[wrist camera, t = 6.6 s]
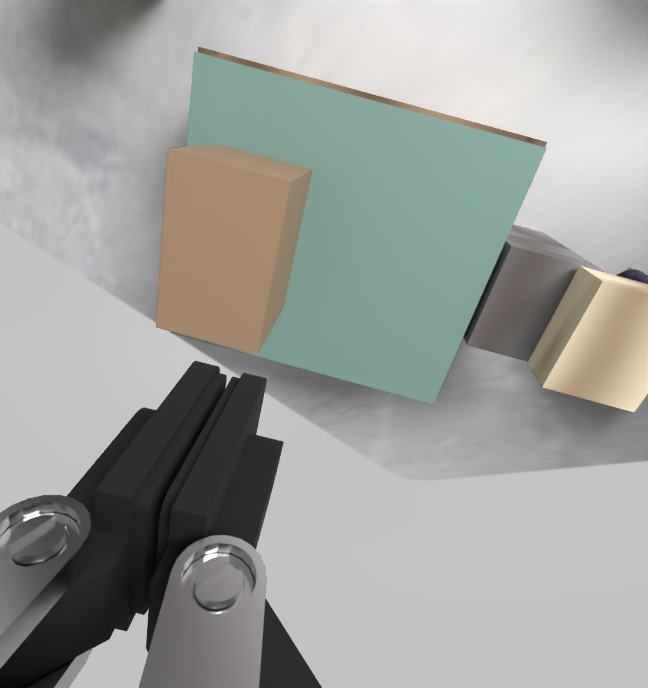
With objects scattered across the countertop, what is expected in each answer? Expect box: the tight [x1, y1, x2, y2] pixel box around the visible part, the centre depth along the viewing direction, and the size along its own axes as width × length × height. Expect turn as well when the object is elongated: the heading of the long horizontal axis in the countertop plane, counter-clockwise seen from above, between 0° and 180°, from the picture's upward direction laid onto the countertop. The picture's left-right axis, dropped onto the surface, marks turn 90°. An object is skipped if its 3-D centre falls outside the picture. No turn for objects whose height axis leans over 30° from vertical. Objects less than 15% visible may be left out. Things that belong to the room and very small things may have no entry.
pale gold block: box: [527, 266, 648, 412], centre depth 22 cm, size 5×6×3 cm
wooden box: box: [198, 47, 604, 361], centre depth 28 cm, size 23×16×10 cm
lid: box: [156, 52, 546, 404], centre depth 22 cm, size 17×15×7 cm
